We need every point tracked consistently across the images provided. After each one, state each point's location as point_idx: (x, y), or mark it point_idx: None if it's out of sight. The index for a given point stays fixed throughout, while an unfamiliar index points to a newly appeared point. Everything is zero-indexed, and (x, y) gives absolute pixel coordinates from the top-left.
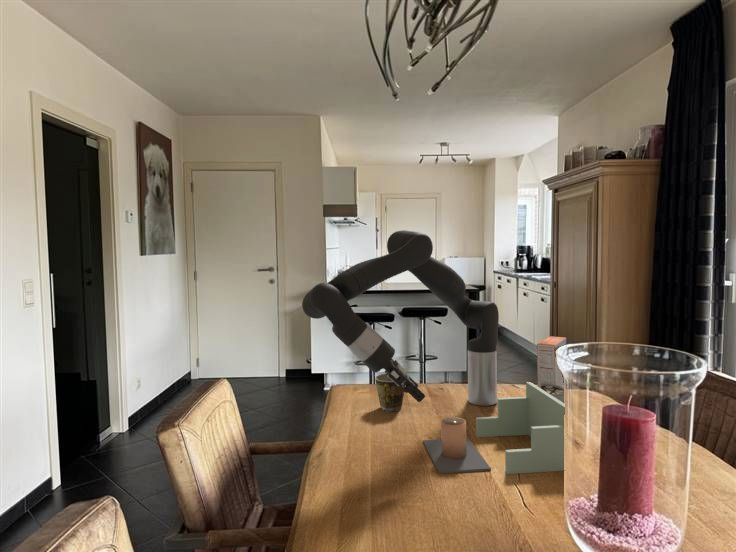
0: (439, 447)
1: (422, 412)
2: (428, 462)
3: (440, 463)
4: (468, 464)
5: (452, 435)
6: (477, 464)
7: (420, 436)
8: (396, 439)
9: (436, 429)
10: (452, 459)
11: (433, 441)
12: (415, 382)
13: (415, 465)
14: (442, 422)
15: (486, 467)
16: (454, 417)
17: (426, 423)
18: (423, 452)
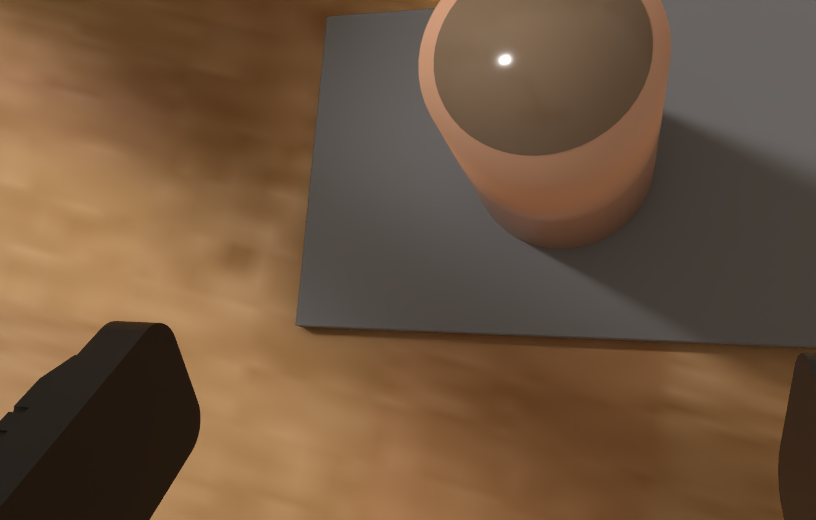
0: (440, 238)
1: None
2: (647, 376)
3: (719, 300)
4: (762, 109)
5: (655, 127)
6: (769, 50)
7: (202, 319)
8: (206, 509)
9: (123, 182)
10: (661, 198)
11: (333, 255)
12: (108, 364)
13: (685, 488)
14: (552, 164)
15: None
16: (443, 23)
17: (12, 224)
18: (469, 367)
